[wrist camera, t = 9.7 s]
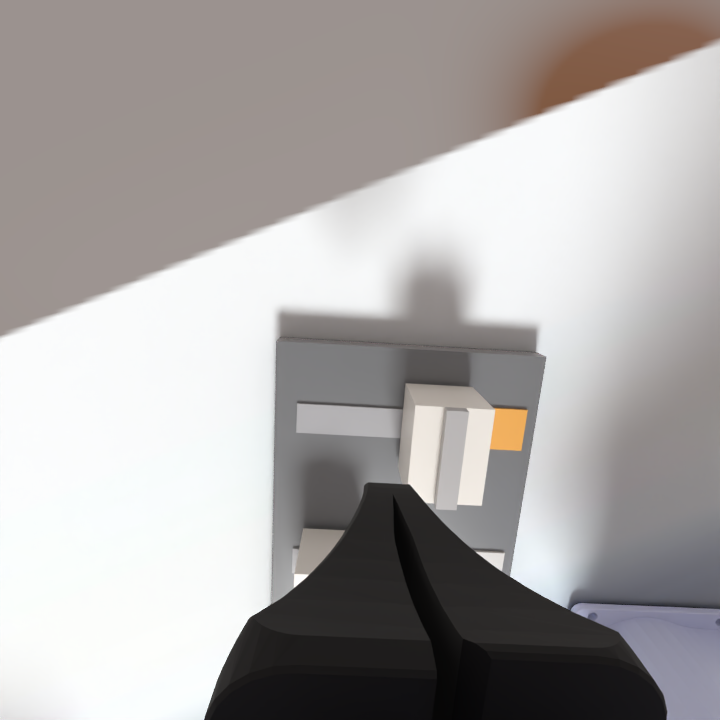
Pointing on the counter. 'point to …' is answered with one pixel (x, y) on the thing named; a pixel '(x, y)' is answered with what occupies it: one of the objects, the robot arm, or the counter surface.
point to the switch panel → (389, 437)
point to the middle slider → (314, 550)
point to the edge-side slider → (445, 444)
